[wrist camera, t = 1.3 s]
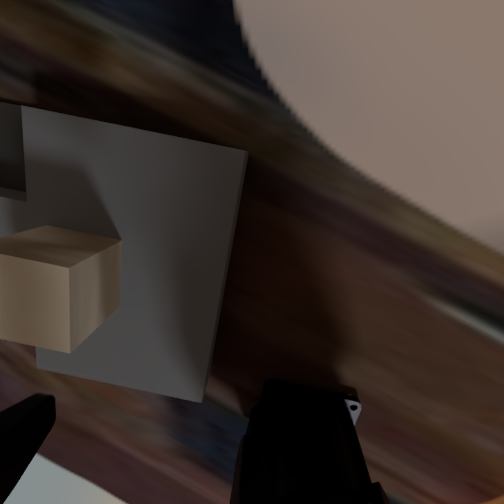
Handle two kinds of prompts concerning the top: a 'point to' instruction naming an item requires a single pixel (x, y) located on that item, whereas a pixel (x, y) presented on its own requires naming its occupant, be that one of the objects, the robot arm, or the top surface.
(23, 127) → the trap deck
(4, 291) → the block
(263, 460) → the robot arm
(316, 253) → the top surface
